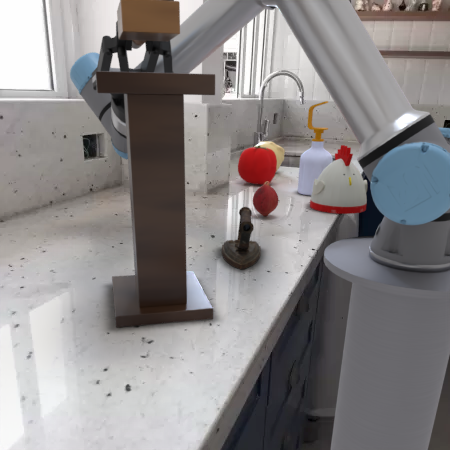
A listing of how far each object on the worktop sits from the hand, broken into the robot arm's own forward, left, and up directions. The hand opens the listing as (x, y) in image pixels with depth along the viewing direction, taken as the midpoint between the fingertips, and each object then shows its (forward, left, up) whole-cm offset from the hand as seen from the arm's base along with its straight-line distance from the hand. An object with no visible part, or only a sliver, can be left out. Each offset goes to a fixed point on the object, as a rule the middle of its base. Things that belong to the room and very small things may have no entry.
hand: (140, 8), depth 59 cm
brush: (0, 0, -4) cm, 4 cm away
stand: (-3, +8, -36) cm, 37 cm away
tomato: (-12, -87, -36) cm, 95 cm away
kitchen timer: (-34, -56, -36) cm, 75 cm away
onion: (-16, -43, -36) cm, 59 cm away
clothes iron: (-13, -11, -36) cm, 40 cm away
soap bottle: (-29, -74, -36) cm, 88 cm away
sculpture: (-14, -111, -36) cm, 118 cm away
